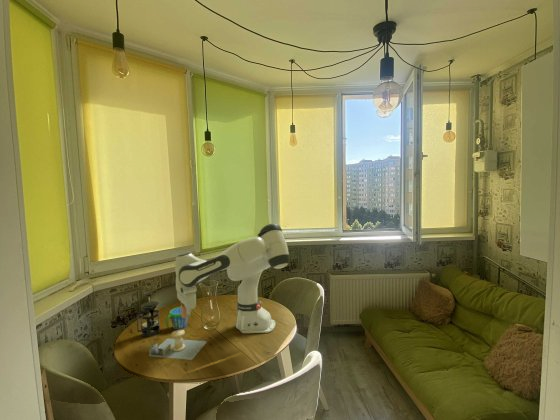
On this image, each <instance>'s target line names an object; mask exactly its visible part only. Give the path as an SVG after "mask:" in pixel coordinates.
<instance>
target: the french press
mask: <svg viewBox="0 0 560 420" xmlns="http://www.w3.org/2000/svg"><path fill="white" fill-rule="evenodd" d="M153 295H154V293H153V292H146V293H145V294H144V296H146V297H148V301H147V302H143V303H142V304H141V305H140V310H141V311H142V312H141V314H140V313H139V314H137V315H136V324H137V326H136V327H137V332H138V333H140V332H141V336H142V337H144V338H150V337H154V336H157V335H158V334H159V333H160V332H161V325H160V311H159V310H157V309H156V308H157V307H158V306H159V301H152V300H151V298H150V297H151V296H153ZM154 313H156V314H154ZM147 314H149V316H144V315H147ZM139 317H140V320H139ZM157 317H158V318H157ZM156 318H157V320H156ZM143 320H146V321H145V322H144V321H143ZM139 321H140V324H139ZM140 326H141V329H139V328H140Z"/></svg>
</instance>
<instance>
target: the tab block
mask: <svg viewBox="0 0 560 420" xmlns="http://www.w3.org/2000/svg"><path fill="white" fill-rule="evenodd" d="M180 307H181V316H182V317H183V318H187V317H188V318H191V310H192V309H190V314H186V307H185V306H184V304H183V303H180Z"/></svg>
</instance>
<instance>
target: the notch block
mask: <svg viewBox="0 0 560 420" xmlns="http://www.w3.org/2000/svg"><path fill="white" fill-rule="evenodd" d="M158 346H159V345H158V342H155V343H154V344H152V345H151V346H150V347H149V348H148V352H149V353H148V355H159V356H165V355H166V354H167V353H168V352H169V351H170V350H171V344H168V345H167V346H166V347H165V348H164V349H158Z"/></svg>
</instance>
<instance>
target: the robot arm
mask: <svg viewBox="0 0 560 420" xmlns="http://www.w3.org/2000/svg"><path fill="white" fill-rule="evenodd" d="M290 262H291V255H290V253H289V247H288V243H287V242H286V238H285V235H284V234H283V230H282V228H281V225H279V224H277V223H270V224H266V225H264V226H263V227H262V228H261V229H260V231H259V232H258V234H257V236H253V237H249V238H246V239H243V240H240V241H239V242H236V243H234V244H232V245H231V246H229V247H228V248H226V249H225V250H223V251H222V252H221V253H219V254H218V255H216V256H215V257H213V258H211V259H209V260H206V259H202V258H199V257H197V256H195V255H194V254H193V253H192V252H185V253H181V254H179V255H177V256H176V258H175V262H174V263H175V264H174V265H175V266H174V268H175V269H174V271H175V276H176V277H175V291H176V298H177V299H178V300H179V301H180V304H182V303H183V304H184V306H185V307H186V314H190V309H191V310H192V309H193V310H194V309H195V308H196V306H197V294H196V293H197V291H198V290H197V286H196V284H198V283H200V282H202V281H203V280H205V279H207V278H208V277H210V276H211V275H213V274H215V273H217V272H221V271H224V270H226V274H227V277H228V278H229V280H231V281H233V282H238V281H241V283H240V284H239V285H238V287H237V301H236V309H237V319H236V324H235V328H236V330H238V331H240V333H242V334H255V333H256V334H261V333H263V334H264V333H266V334H267V333H271V332H272V331H273V330H274V329H275V327H276V320H274V319H272V316H271V314H270V312H269V311H267V310H266V309H265V308H264V307H262V300H260V301H259V299H258V286H259V281H260V277H261V275H262V274H263V271H265V270H267V269H270V268H273V269H277V270H279V269H283V268H285V267H287V266H288V265H289V264H290Z"/></svg>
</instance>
